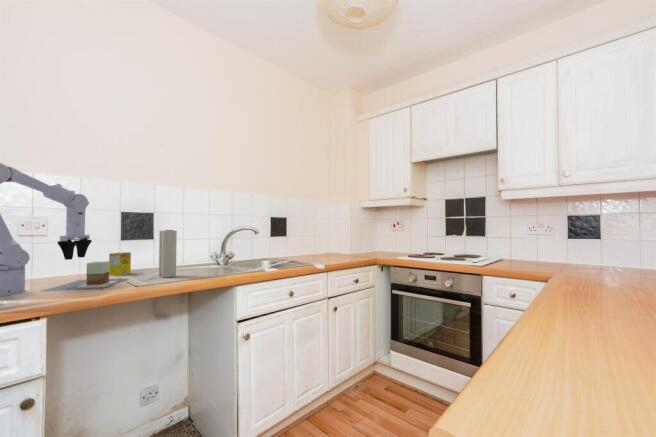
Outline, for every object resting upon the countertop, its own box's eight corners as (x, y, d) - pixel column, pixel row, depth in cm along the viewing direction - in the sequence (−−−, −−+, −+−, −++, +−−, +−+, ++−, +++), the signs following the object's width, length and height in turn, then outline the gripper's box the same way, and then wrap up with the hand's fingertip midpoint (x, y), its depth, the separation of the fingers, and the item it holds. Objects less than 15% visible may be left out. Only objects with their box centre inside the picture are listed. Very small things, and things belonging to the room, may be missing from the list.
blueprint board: (101, 292, 106) (102, 287, 106) (40, 294, 102) (40, 289, 102) (130, 280, 126) (130, 277, 126) (79, 282, 123) (79, 278, 123)
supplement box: (130, 275, 140) (131, 252, 140) (120, 277, 134) (121, 253, 134) (119, 275, 141) (119, 252, 141) (108, 277, 135) (109, 253, 135)
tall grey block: (177, 276, 137) (178, 230, 137) (163, 278, 133) (163, 230, 133) (173, 274, 142) (173, 229, 142) (158, 276, 138) (159, 230, 138)
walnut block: (101, 284, 111) (101, 273, 111) (86, 285, 110) (86, 274, 110) (109, 282, 116) (109, 271, 116) (94, 282, 115) (94, 272, 115)
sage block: (101, 273, 111) (101, 263, 111) (86, 274, 110) (86, 263, 110) (109, 271, 116) (109, 261, 116) (94, 272, 115) (94, 261, 115)
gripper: (75, 224, 112) (74, 260, 112) (97, 224, 127) (97, 256, 126) (53, 224, 111) (52, 260, 111) (79, 224, 125) (78, 256, 125)
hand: (75, 258), depth 118 cm, fingers open, 7 cm apart
